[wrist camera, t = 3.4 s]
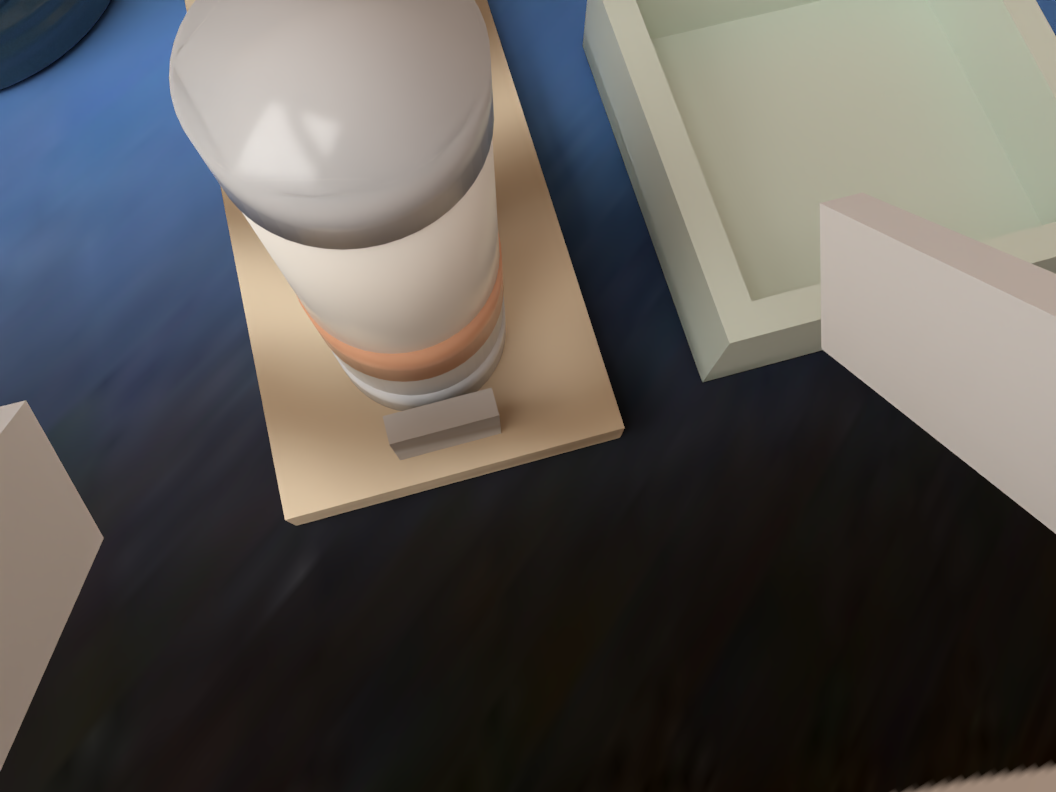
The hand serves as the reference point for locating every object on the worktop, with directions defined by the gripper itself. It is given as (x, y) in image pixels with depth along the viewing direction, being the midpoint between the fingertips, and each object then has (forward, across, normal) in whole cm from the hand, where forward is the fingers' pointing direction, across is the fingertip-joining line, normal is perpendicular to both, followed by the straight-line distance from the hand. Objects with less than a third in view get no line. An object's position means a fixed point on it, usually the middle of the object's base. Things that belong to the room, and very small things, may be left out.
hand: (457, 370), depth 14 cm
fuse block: (+15, -1, -1) cm, 15 cm away
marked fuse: (+11, -1, -4) cm, 11 cm away
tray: (+14, +14, -2) cm, 19 cm away
